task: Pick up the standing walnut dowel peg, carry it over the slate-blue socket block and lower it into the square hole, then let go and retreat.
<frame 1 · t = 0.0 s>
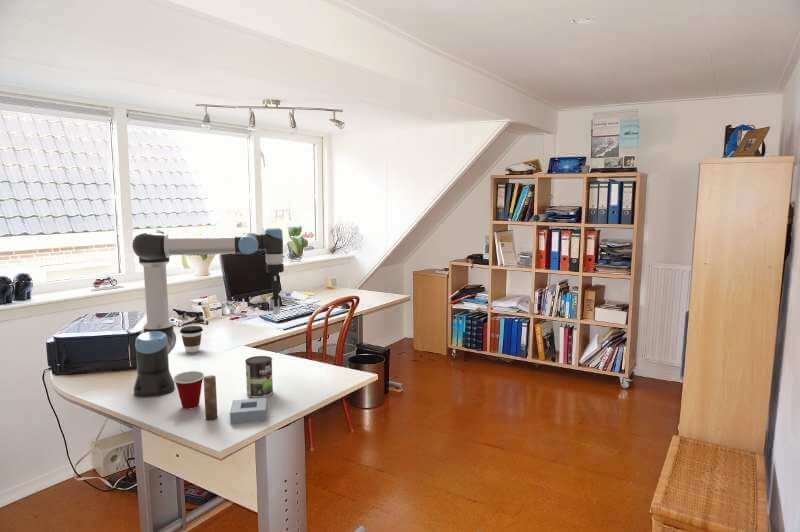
hand: (276, 310, 237), 28 cm above the table, fingers open, 13 cm apart
coffee cup: (192, 351, 274), on the table
coffee can: (260, 393, 213), on the table
socket block: (249, 415, 191), on the table
peg: (211, 417, 189), on the table
plastic cup: (190, 407, 200), on the table
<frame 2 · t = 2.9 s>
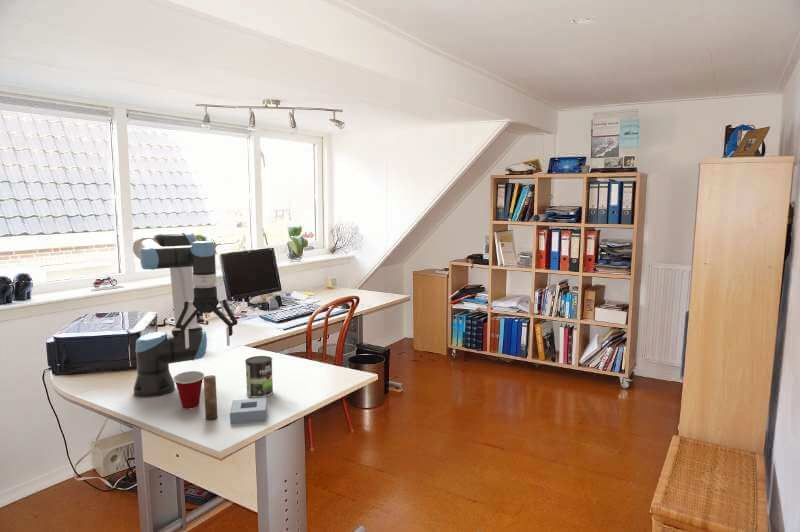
hand: (208, 346, 186), 26 cm above the table, fingers open, 13 cm apart
nothing on the table moved.
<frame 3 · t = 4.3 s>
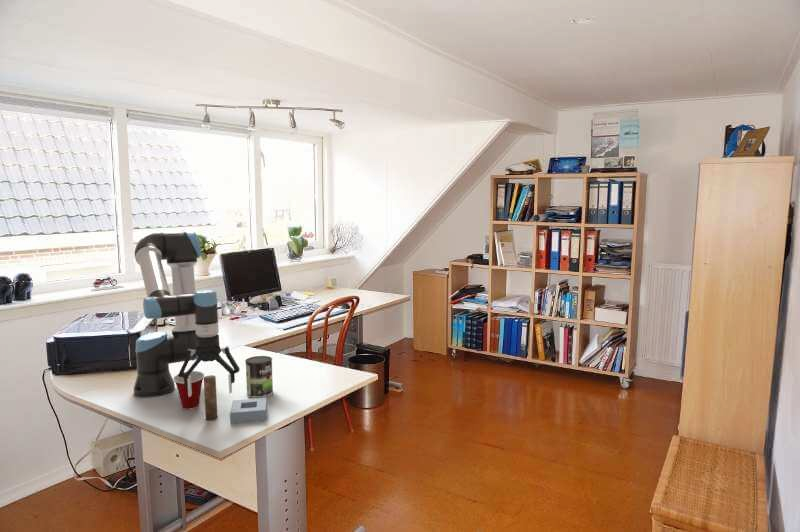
hand: (210, 393, 188), 9 cm above the table, fingers open, 13 cm apart
nothing on the table moved.
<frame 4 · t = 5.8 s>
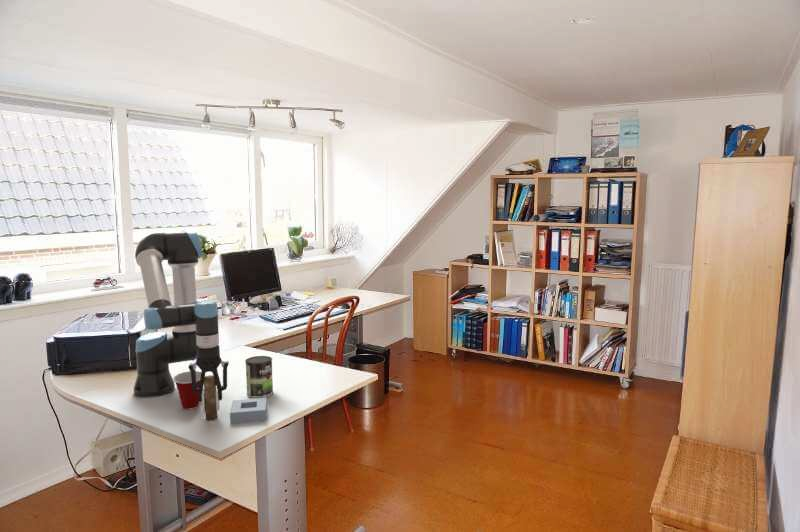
hand: (211, 409, 189), 3 cm above the table, fingers closed on peg, 4 cm apart
peg: (211, 417, 189), on the table, touching gripper
everything else where it was.
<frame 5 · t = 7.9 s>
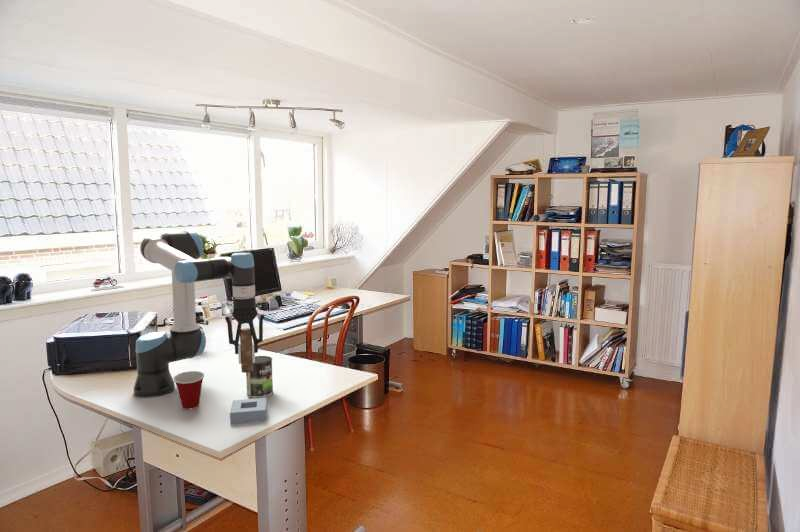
hand: (247, 362, 188), 20 cm above the table, fingers closed on peg, 4 cm apart
peg: (247, 370, 189), point 17 cm above the table, touching gripper
everything else where it was.
when the fingers open (5 cm above the table, at t = 10.2 s): peg stays where it is, resting in socket block.
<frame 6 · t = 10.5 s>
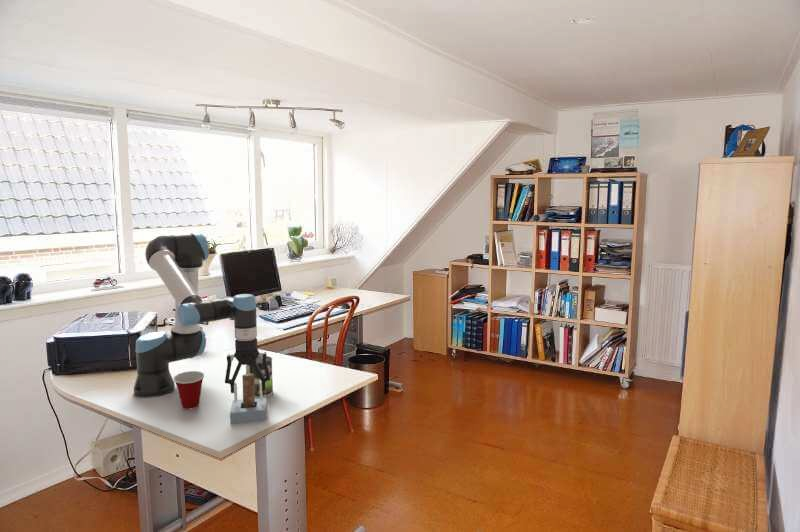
hand: (248, 400, 190), 6 cm above the table, fingers open, 8 cm apart
peg: (249, 415, 191), resting in socket block
everything else where it was.
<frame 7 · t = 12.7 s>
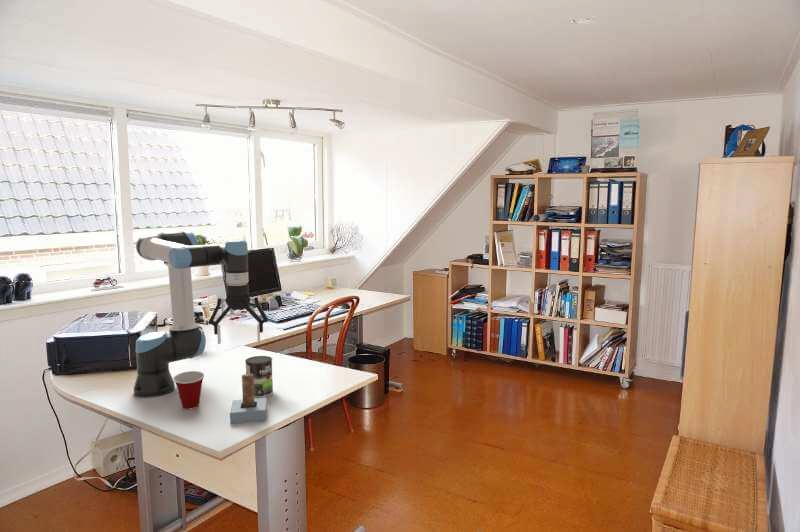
hand: (239, 342, 191), 26 cm above the table, fingers open, 13 cm apart
nothing on the table moved.
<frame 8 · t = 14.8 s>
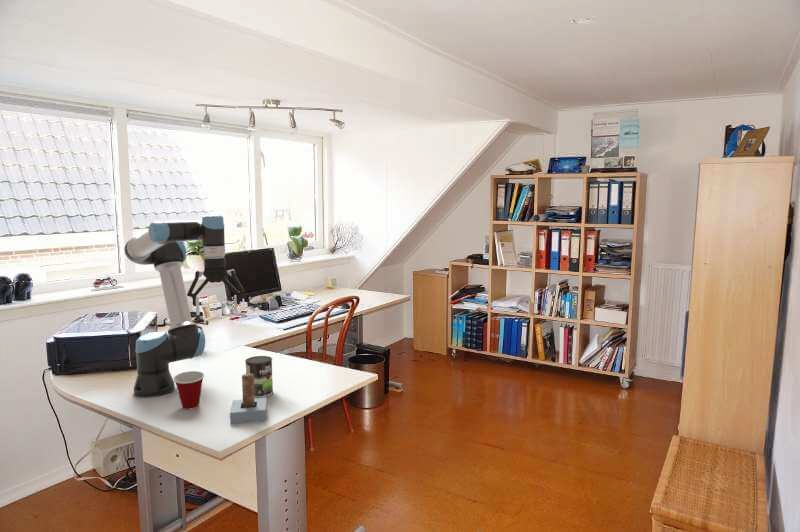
hand: (217, 313, 199), 35 cm above the table, fingers open, 13 cm apart
nothing on the table moved.
at the end: peg 0.0 cm off-centre on the socket block, point 0.0 cm above the socket block's base; peg tilted 0°; the gripper is holding nothing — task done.
